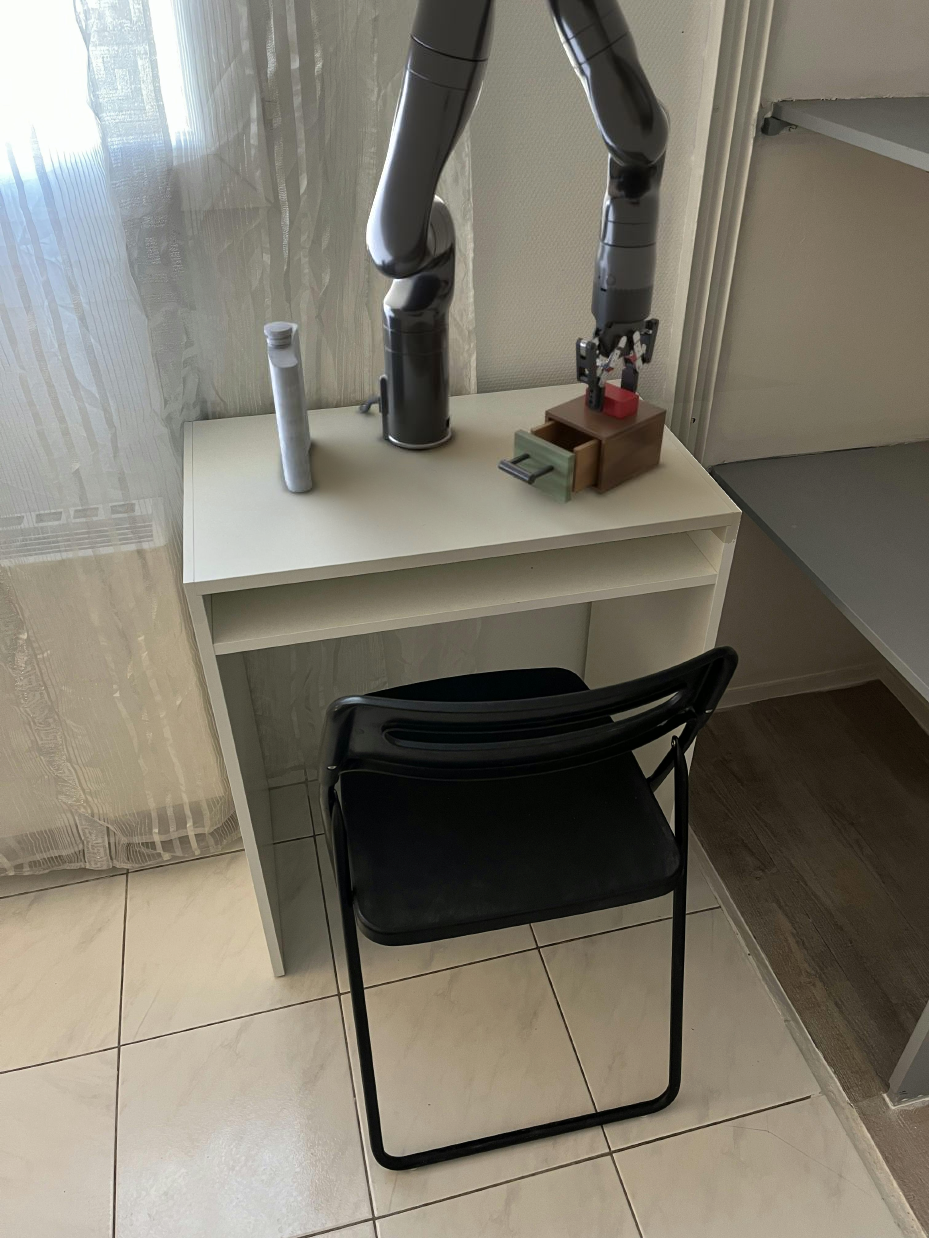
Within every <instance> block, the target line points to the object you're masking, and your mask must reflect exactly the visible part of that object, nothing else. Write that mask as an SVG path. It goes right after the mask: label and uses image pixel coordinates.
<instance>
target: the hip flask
mask: <svg viewBox="0 0 929 1238" xmlns="http://www.w3.org/2000/svg"><path fill="white" fill-rule="evenodd" d="M263 332H264V335H265V336H266V342H267V357H268V364H269V371H270V379H271V385H272V386H271V387H272V394H273V401H274V408H275V409H274V410H275V416H276V423H277V430H278V437H279V445H280V453H281V462H282V469H283V475H284V480H285V483H286V486H287V489H288V490H289V491H290V492H293V493H305V492H308V491H310V490H311V488H312V487H313V484H312V483H313V482H312V475H311V467H310V466H311V465H310V458H309V451H310V448H311V446H312V441H311V432H310V421H309V413H308V404H307V396H306V388H305V379H304V378H305V376H304V370H303V369H304V368H303V361H302V359H303V358H302V351H301V342H300V334H299V326H298V324H297V323H293V322H288V321H273V322H269V323H266V324H265V325H264V326H263Z"/></svg>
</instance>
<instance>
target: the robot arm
mask: <svg viewBox="0 0 929 1238" xmlns="http://www.w3.org/2000/svg"><path fill="white" fill-rule="evenodd" d="M545 3H546V7H547V10H548V12H549V13H548V14H549V16H550V19H551V22H552V24H553V27H554V29H555V31H556V34H557V37H558V38H559V40H560V42H561V45H562V46H563V49H564V51H565V53H566V55H567V57H568V59H569V62H570V64H571V66H572V68H573V70H574V72H575V74H576V76H577V78H578V80H579V81H580V83H581V85H582V87H583V89H584V91H585V95H586V97H587V101H588V103H589V106H590V109H591V112H592V115H593V117H594V120H595V123H596V126H597V129H598V131H599V134H600V136H601V139H602V141H603V143H604V146H605V148H606V149H607V152H608V156H607V171H606V172H607V174H606V185H605V186H606V187H605V191H604V195H603V199H602V203H601V210H600V218H599V219H600V220H599V231H598V242H597V246H596V247H597V248H596V252H595V256H594V257H595V258H594V267H593V279H592V280H593V281H592V292H591V293H592V294H591V306H590V313H591V314H592V316H593V317H594V319H595V326H594V328H593V331H592V334H591V335H590V336H588V337H587V338H583V337H578V338H577V339H576V341H575V364H576V365H575V367H576V370H575V371H576V381H577V382H580V383H583V384H585V385H587V387H588V395H587V396H588V397H587V406H588V408H589V409H590V410H592V411H594V412H596V413H599V412H602V411H603V409H604V399H605V389H606V386H604V385H605V383H606V382H607V379H608V377H609V375H610V372H612V371H614V370H615V367H616V365H617V362H618V360H620V359H621V362H622V366H623V367H624V368H622V369H621V378H620V386H619V387H620V388H623V389H625V390H628V391H630V392H633V393H635V394H637V390H638V384H639V375H640V374H639V373H640V372H641V371H642V370H643V367H644V365H645V364H646V365H649V364H650V363H651V362H652V360H653V356H654V355H653V354H654V348H655V345H656V339H657V335H658V330H659V326H660V320H659V319H658V318H655V317H652V316H650V315H651V313H652V312H651V311H652V304H653V303H652V302H653V293H654V287H655V279H656V278H655V276H656V269H657V260H658V259H657V257H658V256H657V254H658V253H657V246H658V245H657V244H658V242H657V241H658V235H659V228H660V227H659V225H660V217H661V189H662V188H661V187H662V180H663V174H664V170H665V163H666V157H667V151H668V143H669V140H670V132H671V116H670V112H669V109H668V107H667V105H666V104H665V102H664V101H663V100H662V99H661V98H660V97H659V96H658V95H656V94H655V92H654V89H653V87H652V85H651V83H650V81H649V79H648V77H647V74H646V72H645V70H644V68H643V66H642V63H641V60H640V54H639V49H638V45H637V42H636V40H635V37H634V33H633V31H632V30H631V27H630V24H629V21H628V20H627V17H626V14H625V13H624V11H623V8H622V5H621V3H620V0H545ZM496 9H497V0H416V5H415V9H414V15H413V19H412V23H411V27H410V31H409V32H410V33H409V37H408V42H407V46H406V54H405V57H404V64H403V69H402V70H403V71H402V76H401V77H402V78H401V84H400V90H399V94H398V99H397V103H396V108H395V113H394V119H393V124H392V129H391V134H390V141H389V145H388V150H387V155H386V159H385V162H384V166H383V170H382V173H381V177H380V180H379V182H378V187H377V190H376V194H375V197H374V200H373V204H372V207H371V210H370V214H369V217H368V221H367V226H366V248H367V252H368V255H369V258H370V260H371V263H372V264H373V266H374V267H375V269H376V270H377V272H378V273H380V274H381V275H382V276H383V277H385V278H388V279H391V280H392V283H391V286H390V288H389V289H388V292H387V293H386V294H385V296H384V298H383V300H382V302H381V311H380V312H381V327H382V328H381V329H382V345H383V346H382V347H383V364H384V372H383V373H382V374H381V375H380V376H379V396H372V397H370V398H368V399H367V401H366V402H365V404H360V405H359V407H358V409H359V411H361V412H363V413H367V412H369V411H370V409H372V408H371V407H372V405H374V404H376V403H377V404H378V413H379V414H381V429H382V439H385V440H387V441H390V443H392V444H393V445H396V446H398V447H401V448H404V449H410V450H426V449H433V448H436V447H439V446H441V445H443V444H445V443H447V442H448V441H449V440H450V439H451V436H452V428H451V424H452V416H451V385H450V383H451V381H450V375H451V373H450V371H451V370H450V309H451V306H452V303H453V300H454V296H455V286H456V284H455V283H456V260H457V259H456V257H457V236H456V227H455V223H454V218H453V216H452V212H451V211H450V209H449V208H448V206H447V205H446V203H445V202H444V201H443V199H441V198H440V197H439V196H437V195H436V193H437V190H438V186H439V182H440V180H441V176H442V174H443V171H444V170H445V166H446V165H447V163H448V161H449V159H450V157H451V156H452V154H453V151H454V149H455V148H456V146H457V144H458V142H459V141H460V139H461V137H462V135H463V133H464V131H465V129H466V127H467V125H468V124H469V122H470V120H471V117H472V116H473V113H474V112H475V109H476V106H477V104H478V101H479V98H480V95H481V91H482V88H483V83H484V81H485V76H486V71H487V67H488V63H489V58H490V56H491V51H492V47H493V46H492V45H493V41H494V33H495V26H496V25H495V24H496V11H497V10H496ZM643 345H645V350H644V352H643V350H642V349H643ZM600 356H601V357H603V358H605V359H607V361H604V360H601V359H600ZM599 367H600V368H601V370H600V373H599V375H598V370H599ZM586 370H587V372H586Z"/></svg>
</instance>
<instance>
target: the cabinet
mask: <svg viewBox="0 0 929 1238" xmlns="http://www.w3.org/2000/svg"><path fill="white" fill-rule="evenodd" d="M666 417H667V409H666V408H664V407H660V406H659V405H656V404H654V403H651V402H648V401H645V400H642V399H640V398H639V403H638V411H637V412H635V413H633V414H631V415H629V416H626V417H624V418H622V419H619V418H616V417H614V416H612V415H609V414H607V413H604V412H599V413H596V412H594V411H592V410H590V409H589V408H588V406H587V405H585V394H582V395H580V396H577V397H575V398H573V399H570V400H568V401H565V402H562V403H561V404H558V405H555V406H553V407H551V408H548V409H546V410H545V411H544V423H546V422H549V421H551V420H553V419H555V420H557V421H559V422H562V423H564V424H566V425H568V426H571V427H573V428H575V429H577V430H580V431H582V432H584V433H586V434H589V435H591V436H593V437H595V438H598V439H600V440H602V444H601V455H600V465H599V476H598V482H597V483H595V484H593V485H591V486H589V487H587V488H586V489H588V490H590V491H592V492H595V493H597V494H599V495H603V494H605V493H607V492H608V491H610V490H613V489H614V488H616V487H618V486H620V485H623V484H624V483H626V482H629V481H630V480H633V479H634V478H636V477H639V476H641V475H643V474H644V473H647V472H648V471H651V470H652V469H654V468H656V467H658V466H660V459H661V453H662V445H663V439H664V432H665V424H666Z"/></svg>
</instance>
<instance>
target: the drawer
mask: <svg viewBox="0 0 929 1238" xmlns="http://www.w3.org/2000/svg"><path fill="white" fill-rule="evenodd" d="M601 444H602V440H600V439H598V438H595V437H593V436H591V435H589V434H586V433H584V432H582V431H580V430H577V429H575V428H573V427H571V426H568V425H566V424H564V423H562V422H559V421H557V420H555V419H553V420H551V421H549V422H546V423H545V422H544V423H541V424H539V425H537V426H535V427H532V428H530V432H528V431H526V430H524V429H521V428H520V429H518V430H515V431H514V441H513V458H511V459H509V460H506V459H501V460H500V461H499V463H498V469H499V470H500V471H502V472H504V473H505V474H507V475H510V476H512V477H513V478H515V479H516V480H518V481H521V482H522V483H524V484H526V485H528V486H530V487H532V488H534V489H536V490H538V491H539V492H542V493H544V494H545V495H548V496H550V497H552V498H553V499H555V500H558V501H560V502H561V503H564V504H567V503H568V502H570V501H572V495H573V494H577V493H580V492H581V491H583V490H585V489H588V488H587V487H589V486H591V485H593V484H595V483H597V482H598V476H599V465H600V455H601Z"/></svg>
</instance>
